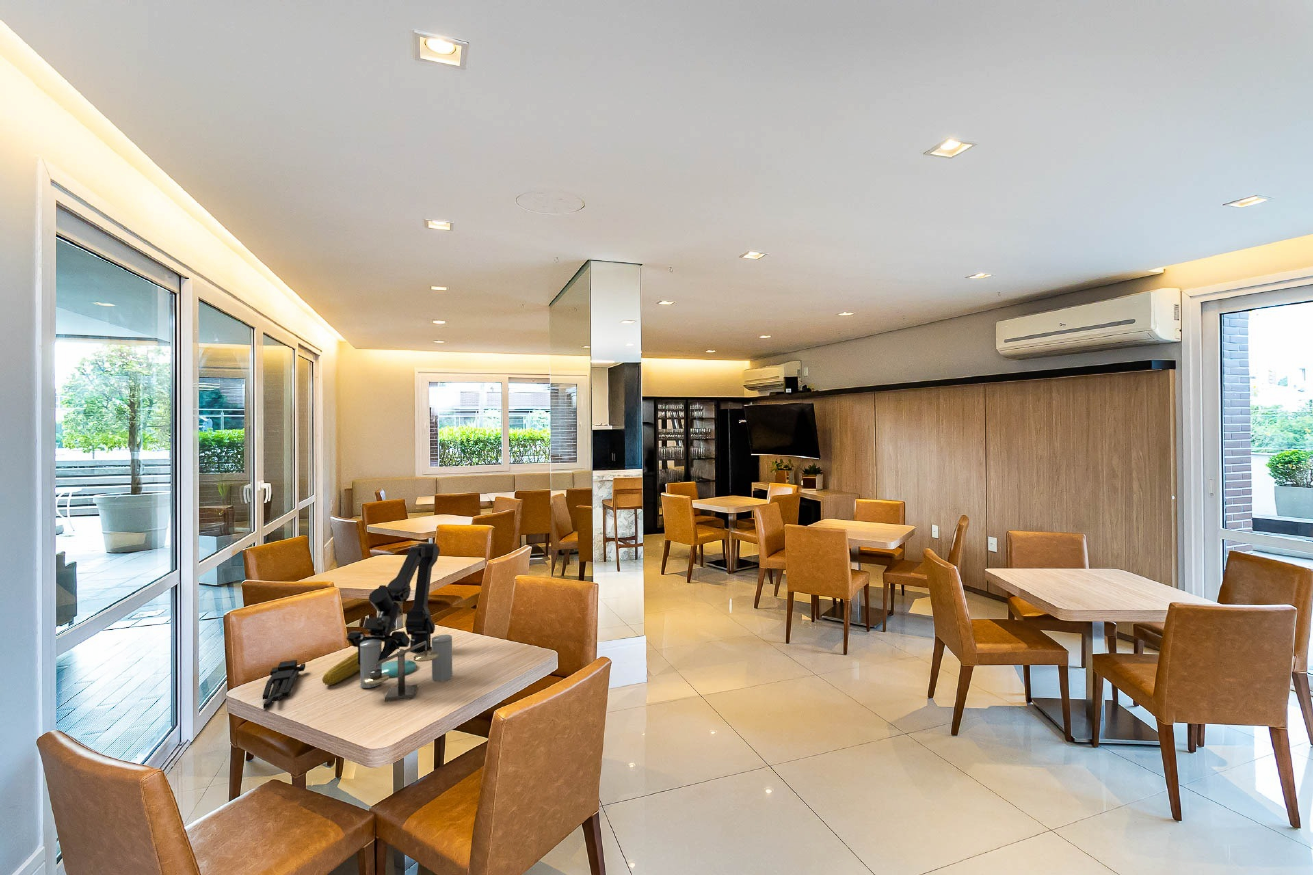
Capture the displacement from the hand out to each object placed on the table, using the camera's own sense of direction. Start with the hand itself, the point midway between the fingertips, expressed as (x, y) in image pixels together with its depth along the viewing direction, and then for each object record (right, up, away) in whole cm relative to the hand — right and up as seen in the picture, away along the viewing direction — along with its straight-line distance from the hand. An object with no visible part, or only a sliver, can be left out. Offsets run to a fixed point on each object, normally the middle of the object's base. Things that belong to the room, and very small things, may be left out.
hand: (368, 664), depth 185 cm
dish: (+2, -7, +14) cm, 16 cm away
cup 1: (0, -7, +1) cm, 7 cm away
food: (-12, -8, +10) cm, 18 cm away
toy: (-27, -8, -1) cm, 28 cm away
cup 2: (+21, -7, +6) cm, 23 cm away
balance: (+13, -7, -6) cm, 16 cm away
